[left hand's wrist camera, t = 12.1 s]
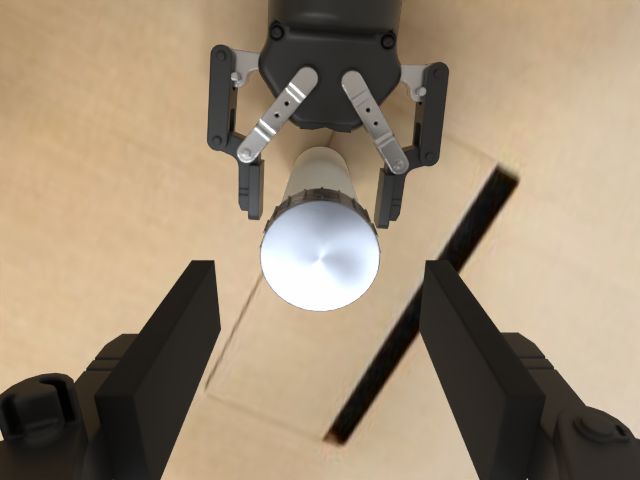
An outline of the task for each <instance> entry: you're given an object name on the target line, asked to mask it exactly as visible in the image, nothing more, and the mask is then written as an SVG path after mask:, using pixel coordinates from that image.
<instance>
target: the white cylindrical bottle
mask: <svg viewBox="0 0 640 480" xmlns="http://www.w3.org/2000/svg"><path fill="white" fill-rule="evenodd" d="M321 187H323V188H324V189H331V190H336V191H338V190H340V192H341V193H344V194H346V195H348V196H350V197H351V198H353V197H354V198H355V199H356V202H357V203H358V199H357V196H356V193H355V190H354V187H353V184H352V181H351V178H350V175H349V172H348V169H347V165H346V163H345V161H344V159H343V158H342V157H341V155H340V154H339V153H337V152H336V151H334V150H333V149H330V148H327V147H313V148H310V149H307V150H306V151H304V152H303V153H301V154H300V155H299V157H298V158H297V159H296V161H295V163H294V166H293V169H292V172H291V175H290V178H289V181H288V184H287V187H286V190H285V193H284V196H283V200H282V202H284V201H285V200H286V199H287V198H288V196H289V195H290V196H292V195H294V194H296V193H299V192H301V191H303V190H304V189H306V190H308V189H315V188H321Z"/></svg>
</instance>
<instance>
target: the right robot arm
mask: <svg viewBox="0 0 640 480" xmlns="http://www.w3.org/2000/svg"><path fill="white" fill-rule="evenodd" d="M401 4H402V0H269V8H268V35H267V40H266V43H265V46H264V48H263V50H262V51H261V53H254V52H248V51H241V50H234V49H233V48H231V47H229V46H226V45H216V46H215V47H214V48H213V49H212V51H211V58H210V83H209V107H208V131H207V142H208V145H209V146H210V148H212V149H213V150H216V151H223V152H225V153H227V154H230V155H232V156H233V157H234V158H235V159H236V160H237V162H238V165H239V205H240V208H241V210H244V211H248V219H249V220H260V218H261V215H262V212H263V188H264V160H261V151H262V150H263V149H264V147H265V146H266V145H267V144H268V143H269V141H270V140H271V139H272V138H273V137H274V135H275V134H276V133H277V132H278V131H279V129H280V128H281V127H282V126H283V125H284V123H285V122H286V121H287V120H288V119H289V121H291V122H292V123H293V124H294V125H296V126H298V127H300V129H311V130H313V129H318V128H323V127H327V128H330V129H332V130H335V131H338V132H349V133H351V131H353V130H356V129H358V128H360V127H361V126H363V127H364V129H365V131H366V132H367V134H368V136H369V137H370V139H371V140H372V142H373V144H374V145H375V147H376V149H377V150H378V152H379V154H380V155H381V157H382V159H383V160H384V162H385V164H384V168H380V174H379V182H378V190H377V198H376V206H375V213H374V222H375V225H376V227H377V228H382V229H388V226H389V221H396V220H397V218H398V216H399V214H400V209H401V202H402V196H403V189H404V182H405V177H406V175H407V173H408V172H409V171H411V170H412V169H415V168H418V167H422V166H432V165H434V164H436V163H437V161H438V159H439V155H440V146H441V137H442V128H443V120H444V111H445V102H446V94H447V85H448V76H449V69H448V67H447V65H446V64H444V63H442V62H437V63H431V64H426V65H401V64H400V62H399V59H398V56H397V49H396V45H397V35H398V27H399V20H400V12H401ZM256 70H259V72H260V75H261V76H262V78H263V80H264V81H265V83H266V84H267V86H268V88H269V89H270V91H271V92H272V94H273V96H274V97H275V99H276V100H275V102H274V103H273V104H272V105H271V107H270V108H269V109H268V110H267V111H266V113H265V114H264V115H263V116H262V118H261V119H260V120H259V121H258V123H257V124H256V126H255V127H254V128H253V130H252V131H251V132H250V133H249V135H248V136H247V137H246V136H243V135H241V134H239V133H237V132H235V122H236V106H237V91H238V87H244V86H245V85H246V84H247V83H248V81H249V77H250V75H251V74H252V73H253V72H254V71H256ZM399 82H402V83H403V84H404V85H405V86H406V88H407V95H408V97H409V99H411V100H412V101H416V110H415V121H414V132H413V143H412V145H411V146H408V147H404V148H401V147H400V145H399V143H398V142H397V140H396V138H395V136H394V134H393V132H392V130H391V128H390V126H389V124H388V123H387V121H386V119H385V117H384V116H383V114H382V112H381V110H380V109H379V106H380V105H381V104H382V103H383V102H384V101H385V99H386V98H387V97H388V96H389V95H390V94H391V92H392V91H393V90H394V89H395V88H396V87H397V85H398V84H399Z"/></svg>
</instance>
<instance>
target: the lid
mask: <svg viewBox="0 0 640 480" xmlns="http://www.w3.org/2000/svg"><path fill="white" fill-rule="evenodd" d="M263 233H265V234H264V237H263V240H262V242H261V245H260V263H261V268H262V272H263V274H264V277H265V279H266V281H267V282H268V284H269V286H270V287H271V288H272V290H273V291H274V292H275V293H276V294H277V295H278V296H279V297H281V298H282V299H283V300H285V301H286V302H288V303H289V304H292V305H294V306H296V307H299V308H302V309H306V310H310V311H329V310H334V309H338V308H341V307H344V306H346V305H348V304H350V303H352V302H354V301H355V300H357V299H358V298H359V297H361V296H362V295H363V294H364V293H365V292H366V291H367V289H368V288H369V287H370V286H371V284H372V282H373V281H374V279H375V277H376V275H377V271H378V268H379V263H380V252H381V251H380V248H379V244H378V240H377V237H378V234H377V232H376V229H375V226H374V224H373V223H371V221H370V218H369V215H368V212H367V210H366V209H363V208H362V206H361V205H360V204H359V203H357V202H356V199H355V198H354V197H353V198H351V197H350V196H348V195H346V194H344V193H341V192H340V190H338V191H336V190H331V189H324V188H323V187H321V188H315V189H308V190H306V189H304V190H303V191H301V192H299V193H296V194H294V195H292V196H290V195H289V196H288V198H287V199H286V200H285V201H284V202H282V203H281V204H280V205H279V207H278V206H276V208H275V210H274V213H273V215H272V217H271V219H270V220H268V221H267V224H266V226H265V229H264V231H263Z"/></svg>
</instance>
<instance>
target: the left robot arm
mask: <svg viewBox="0 0 640 480" xmlns="http://www.w3.org/2000/svg"><path fill="white" fill-rule="evenodd" d="M220 331H221V325H220V315H219V304H218V294H217V284H216V273H215V263H214V260H192V261H191V262H190V264H189V265H188V266H187V268H186V269H185V271H184V272H183V273H182V275H181V276H180V278H179V279H178V280H177V282H176V283H175V284H174V286H173V287H172V289H171V290H170V291H169V293H168V294H167V295H166V297H165V298H164V300H163V301H162V302H161V304H160V305H159V307H158V308H157V309H156V311H155V312H154V313H153V315H152V316H151V318H150V319H149V320H148V322H147V323H146V324H145V326H144V327H143V329H142V330H141V331H140V333H139V334H121V335H120V336H118V337H117V338H115V339H114V340H112V341H111V342H109V343H108V344H106V345H105V346H104V348H103V349H102V350H101V351H100V352H99V354H98V355H97V356H96V357H95V360H93V361H92V362H91V363H90V365H89V366H88V367H87V368H86V371H84V372H83V373H82V374H81V376H80V377H79V378H78V379H77V380H76V382H75V383H74V381H73V379H72V378H70V377H69V376H68V375H66V374H60V373H50V374H41V375H38V376H35V377H31V378H28V379H25V380H23V381H21V382H19V383H17V384H15V385H13V386H11V387H10V388H9V389H7V390H6V391H4V392H3V393H2V394H0V430H1V433H2V436H3V438H4V440H2V441H0V480H160V479H161V477H162V475H163V472H164V470H165V467H166V465H167V462H168V460H169V457H170V455H171V452H172V450H173V447H174V445H175V442H176V440H177V437H178V435H179V432H180V430H181V427H182V425H183V422H184V420H185V417H186V415H187V412H188V410H189V407H190V405H191V403H192V400H193V398H194V395H195V393H196V390H197V388H198V385H199V383H200V380H201V378H202V375H203V373H204V370H205V368H206V365H207V363H208V360H209V358H210V355H211V353H212V350H213V348H214V345H215V343H216V340H217V338H218V335H219V333H220ZM419 331H420V333H421V335H422V338H423V340H424V343H425V345H426V348H427V350H428V353H429V355H430V358H431V360H432V363H433V365H434V368H435V370H436V373H437V375H438V378H439V380H440V383H441V385H442V388H443V390H444V393H445V395H446V398H447V400H448V403H449V405H450V407H451V410H452V412H453V415H454V417H455V420H456V422H457V425H458V427H459V430H460V432H461V435H462V437H463V440H464V442H465V445H466V447H467V450H468V452H469V455H470V457H471V460H472V462H473V465H474V467H475V470H476V472H477V475H478V477H479V479H480V480H527V478H528V480H640V439H637V438H635V437H634V435H633V434H632V432H631V431H630V429H629V428H628V427H626V426H625V425H624V424H623V423H622V422H620V421H619V420H618V419H616V418H615V417H613V416H611V415H609V414H607V413H606V412H604V411H601V410H598V409H595V408H592V407H589V406H586V405H585V404H584V403H583V402H582V400H581V399H580V398H579V397H578V396H577V394H576V393H575V392H574V391H573V389H572V388H571V387H570V386H569V385H568V383H567V382H566V381H565V380H564V379H563V377H562V376H561V375H560V374H559V373H558V371H557V370H554V366H553V365H552V364H551V363H550V362H549V360H548V359H545V356H544V354H543V353H542V352H541V351H540V350H539V348H538V347H537V346H536V345H535V343H533V342H531V341H530V340H528V339H527V338H525V337H524V336H522V335H521V334H519V333H500V331H499V330H498V329H497V327H496V326H495V324H494V323H493V322H492V320H491V319H490V318H489V316H488V315H487V313H486V312H485V311H484V309H483V308H482V307H481V305H480V304H479V302H478V301H477V300H476V298H475V297H474V295H473V294H472V293H471V291H470V290H469V289H468V287H467V286H466V284H465V283H464V282H463V280H462V279H461V278H460V276H459V275H458V273H457V272H456V271H455V269H454V268H453V267H452V265H451V264H450V262H449V261H448V260H426V263H425V273H424V284H423V294H422V304H421V315H420V325H419Z"/></svg>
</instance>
